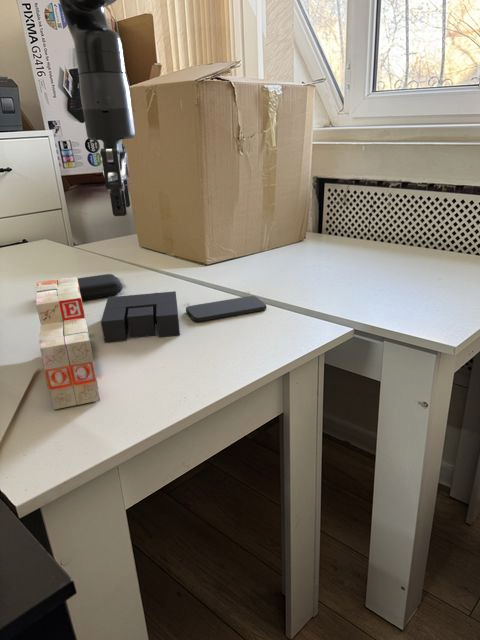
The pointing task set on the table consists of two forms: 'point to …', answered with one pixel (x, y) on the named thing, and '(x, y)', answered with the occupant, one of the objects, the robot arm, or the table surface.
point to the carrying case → (99, 286)
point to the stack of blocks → (65, 343)
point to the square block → (141, 322)
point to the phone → (225, 308)
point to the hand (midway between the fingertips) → (122, 211)
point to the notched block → (118, 307)
